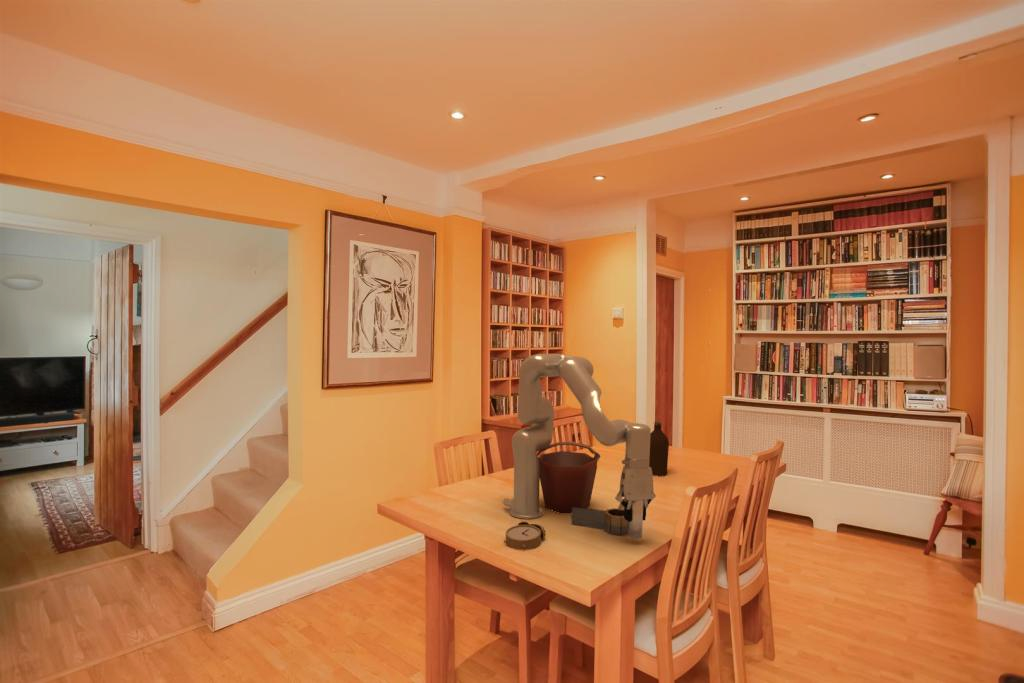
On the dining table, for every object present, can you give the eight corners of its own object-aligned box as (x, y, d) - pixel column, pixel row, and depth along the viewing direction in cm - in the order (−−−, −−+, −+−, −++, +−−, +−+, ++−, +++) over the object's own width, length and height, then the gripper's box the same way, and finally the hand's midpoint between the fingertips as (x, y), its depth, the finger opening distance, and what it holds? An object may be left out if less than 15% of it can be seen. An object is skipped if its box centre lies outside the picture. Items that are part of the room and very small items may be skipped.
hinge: (568, 528, 173) (569, 510, 173) (581, 509, 192) (581, 493, 192) (628, 536, 166) (628, 518, 166) (635, 516, 185) (635, 500, 185)
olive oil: (670, 472, 247) (671, 421, 247) (666, 477, 238) (666, 424, 238) (648, 469, 252) (649, 419, 252) (643, 474, 243) (644, 422, 243)
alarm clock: (498, 536, 158) (522, 514, 171) (499, 550, 159) (523, 527, 172) (529, 544, 152) (551, 520, 165) (530, 559, 153) (553, 534, 166)
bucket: (604, 501, 201) (604, 438, 199) (592, 522, 180) (591, 452, 179) (545, 493, 210) (544, 434, 208) (527, 513, 189) (526, 447, 188)
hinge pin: (626, 537, 160) (628, 493, 160) (628, 532, 164) (630, 489, 164) (641, 539, 159) (643, 495, 158) (642, 534, 163) (644, 491, 162)
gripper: (620, 467, 155) (617, 526, 155) (666, 464, 160) (664, 521, 161) (607, 461, 162) (605, 517, 162) (652, 458, 168) (650, 513, 168)
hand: (634, 519), depth 162 cm, fingers closed on hinge pin, 4 cm apart
